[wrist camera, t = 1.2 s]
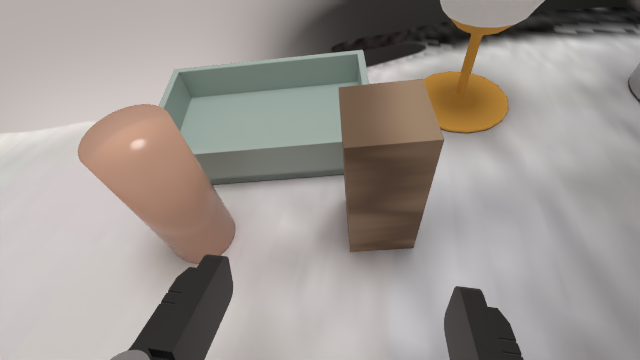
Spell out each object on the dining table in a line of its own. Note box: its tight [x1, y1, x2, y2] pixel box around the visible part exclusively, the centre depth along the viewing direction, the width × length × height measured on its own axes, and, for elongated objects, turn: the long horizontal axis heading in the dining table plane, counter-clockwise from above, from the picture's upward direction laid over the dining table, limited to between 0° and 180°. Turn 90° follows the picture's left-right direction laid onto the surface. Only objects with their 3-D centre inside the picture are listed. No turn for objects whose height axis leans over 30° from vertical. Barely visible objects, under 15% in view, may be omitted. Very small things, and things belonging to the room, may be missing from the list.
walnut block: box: [338, 79, 444, 252], centre depth 20 cm, size 4×4×11 cm
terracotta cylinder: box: [78, 104, 235, 263], centre depth 21 cm, size 5×5×11 cm
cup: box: [423, 0, 544, 133], centre depth 26 cm, size 9×9×16 cm
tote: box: [159, 50, 369, 185], centre depth 31 cm, size 19×12×4 cm, turn 91°
